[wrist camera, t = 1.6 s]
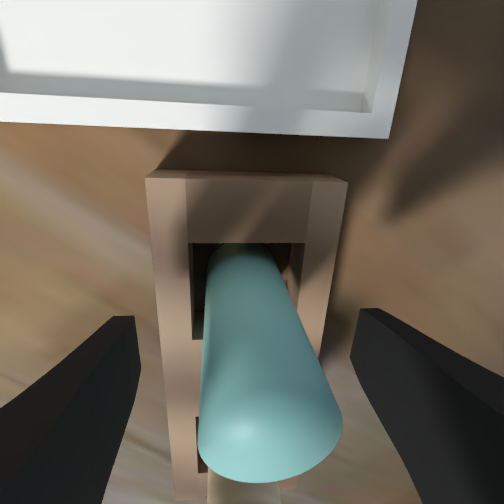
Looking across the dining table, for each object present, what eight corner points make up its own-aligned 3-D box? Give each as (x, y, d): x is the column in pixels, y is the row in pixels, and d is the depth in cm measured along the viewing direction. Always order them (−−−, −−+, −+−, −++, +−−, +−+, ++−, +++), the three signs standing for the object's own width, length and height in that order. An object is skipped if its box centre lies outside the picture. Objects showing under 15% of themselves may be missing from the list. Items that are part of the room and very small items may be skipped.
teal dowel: (278, 238, 13) (354, 378, 6) (273, 299, 15) (330, 475, 7) (206, 238, 13) (194, 387, 6) (207, 301, 14) (199, 489, 7)
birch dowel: (265, 387, 17) (304, 588, 10) (262, 426, 18) (294, 629, 11) (208, 390, 17) (203, 602, 9) (209, 429, 18) (205, 643, 10)
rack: (155, 169, 12) (144, 177, 10) (328, 174, 12) (348, 182, 11) (179, 464, 19) (175, 501, 17) (288, 454, 20) (296, 488, 18)
